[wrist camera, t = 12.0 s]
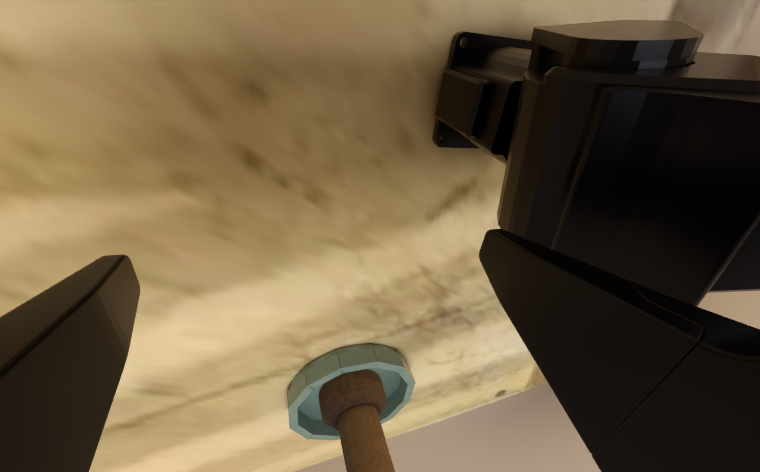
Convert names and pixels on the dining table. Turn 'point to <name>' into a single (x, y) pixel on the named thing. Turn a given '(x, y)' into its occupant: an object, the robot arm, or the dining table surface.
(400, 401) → the glazed dish
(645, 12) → the dining table surface
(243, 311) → the dining table surface
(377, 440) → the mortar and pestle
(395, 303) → the dining table surface
